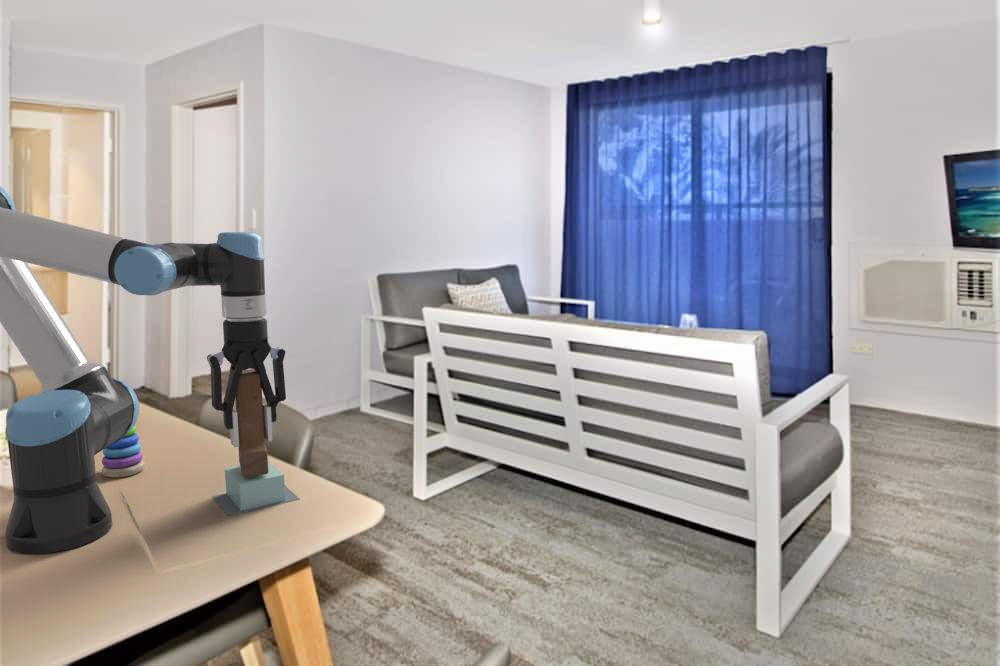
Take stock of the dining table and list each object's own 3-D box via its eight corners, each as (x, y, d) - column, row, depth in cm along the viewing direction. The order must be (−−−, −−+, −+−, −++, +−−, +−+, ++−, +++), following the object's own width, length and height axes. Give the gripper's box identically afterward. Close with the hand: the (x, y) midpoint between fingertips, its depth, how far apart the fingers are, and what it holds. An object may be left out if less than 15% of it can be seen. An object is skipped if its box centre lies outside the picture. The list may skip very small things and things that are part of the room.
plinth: (241, 510, 127) (239, 484, 126) (226, 493, 135) (224, 468, 134) (285, 500, 131) (283, 474, 130) (268, 484, 139) (267, 460, 138)
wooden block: (268, 474, 129) (263, 377, 126) (242, 478, 127) (236, 380, 124) (263, 459, 137) (258, 368, 134) (239, 462, 135) (233, 370, 132)
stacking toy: (153, 466, 151) (146, 380, 148) (130, 479, 143) (122, 389, 140) (118, 465, 152) (110, 379, 149) (93, 478, 144) (85, 388, 141)
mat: (228, 519, 124) (228, 515, 124) (212, 499, 133) (212, 496, 133) (300, 502, 132) (300, 499, 132) (281, 484, 141) (280, 481, 141)
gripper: (195, 325, 119) (204, 457, 123) (301, 316, 130) (307, 438, 133) (185, 319, 125) (194, 445, 129) (288, 312, 136) (293, 428, 139)
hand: (251, 441), depth 131 cm, fingers open, 5 cm apart
